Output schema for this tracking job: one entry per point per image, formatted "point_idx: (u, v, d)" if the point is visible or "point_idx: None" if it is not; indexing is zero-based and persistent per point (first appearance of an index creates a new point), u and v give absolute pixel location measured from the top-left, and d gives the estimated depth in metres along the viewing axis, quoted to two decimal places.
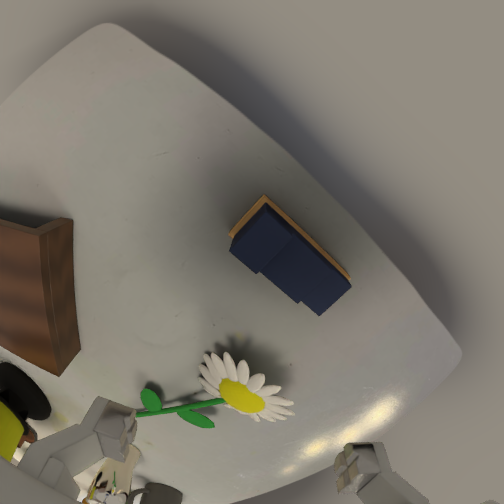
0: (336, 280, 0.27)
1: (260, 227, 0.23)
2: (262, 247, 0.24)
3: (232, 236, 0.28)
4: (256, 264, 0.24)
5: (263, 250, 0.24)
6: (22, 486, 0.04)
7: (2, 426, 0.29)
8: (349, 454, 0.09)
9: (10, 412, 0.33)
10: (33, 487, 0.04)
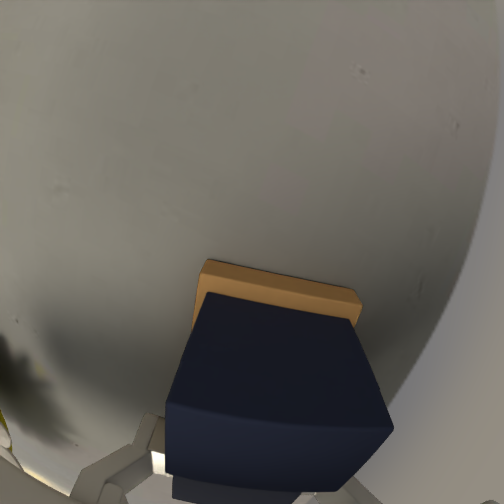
0: None
1: (330, 445, 0.05)
2: (258, 470, 0.05)
3: (203, 287, 0.09)
4: (193, 471, 0.05)
5: (252, 473, 0.05)
6: (22, 486, 0.04)
7: None
8: None
9: None
10: (33, 487, 0.04)
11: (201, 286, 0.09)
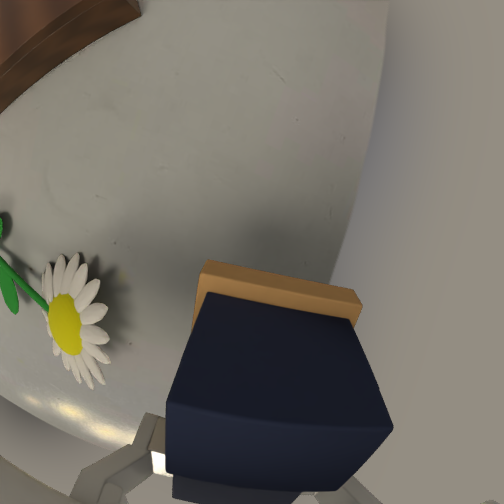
0: None
1: (330, 445, 0.05)
2: (258, 469, 0.05)
3: (203, 287, 0.09)
4: (193, 470, 0.05)
5: (252, 473, 0.05)
6: (22, 486, 0.04)
7: None
8: None
9: None
10: (33, 487, 0.04)
11: (201, 286, 0.09)
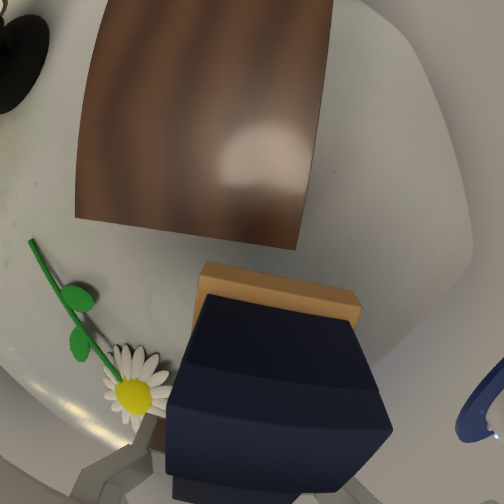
0: None
1: (329, 447, 0.05)
2: (258, 471, 0.05)
3: (203, 289, 0.09)
4: (193, 472, 0.05)
5: (252, 475, 0.05)
6: (22, 486, 0.04)
7: None
8: None
9: None
10: (33, 487, 0.04)
11: (201, 288, 0.09)
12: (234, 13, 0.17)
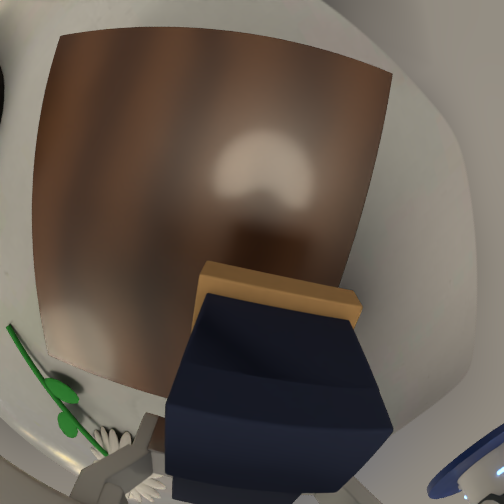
0: None
1: (329, 447, 0.05)
2: (258, 471, 0.05)
3: (203, 288, 0.09)
4: (193, 472, 0.05)
5: (252, 475, 0.05)
6: (22, 486, 0.04)
7: None
8: None
9: None
10: (33, 487, 0.04)
11: (201, 287, 0.09)
12: (228, 127, 0.13)
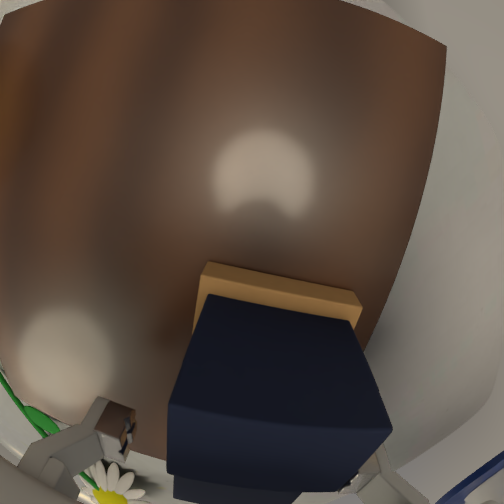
0: None
1: (329, 446, 0.05)
2: (259, 470, 0.05)
3: (204, 289, 0.09)
4: (194, 471, 0.05)
5: (253, 474, 0.05)
6: (22, 486, 0.04)
7: None
8: None
9: None
10: (33, 487, 0.04)
11: (202, 288, 0.09)
12: (206, 114, 0.08)
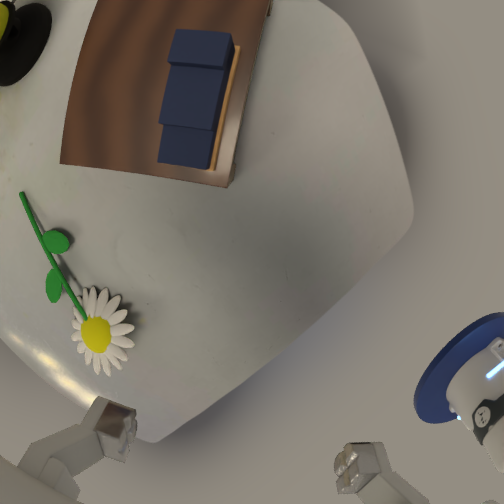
0: (202, 149, 0.23)
1: (213, 37, 0.18)
2: (195, 49, 0.18)
3: None
4: (176, 55, 0.18)
5: (193, 51, 0.18)
6: (22, 486, 0.04)
7: None
8: (349, 454, 0.09)
9: None
10: (33, 487, 0.04)
11: None
12: (191, 7, 0.21)
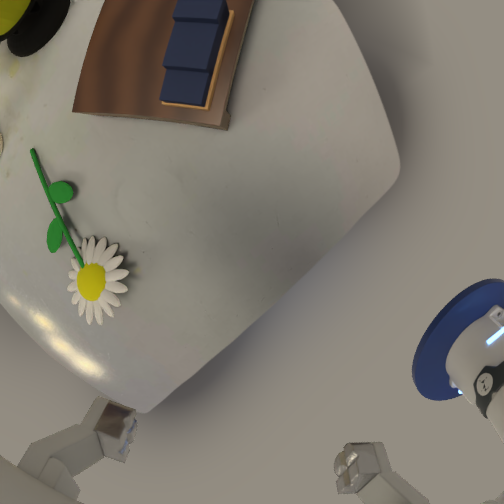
0: (198, 87, 0.25)
1: None
2: (195, 7, 0.20)
3: None
4: (179, 12, 0.20)
5: (193, 9, 0.20)
6: (22, 486, 0.04)
7: None
8: (349, 454, 0.09)
9: (15, 22, 0.21)
10: (33, 487, 0.04)
11: None
12: None
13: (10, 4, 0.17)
